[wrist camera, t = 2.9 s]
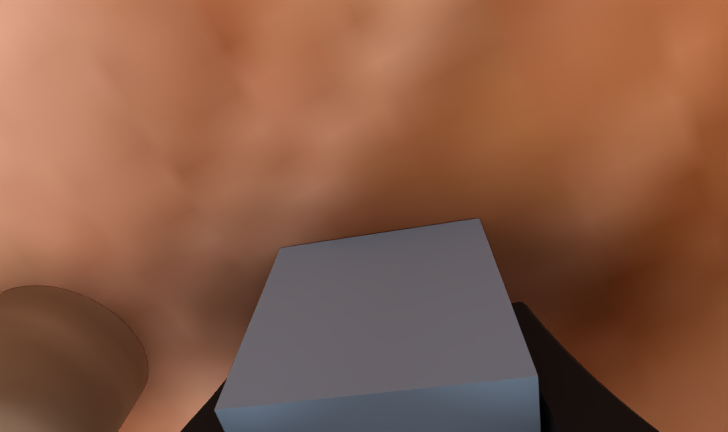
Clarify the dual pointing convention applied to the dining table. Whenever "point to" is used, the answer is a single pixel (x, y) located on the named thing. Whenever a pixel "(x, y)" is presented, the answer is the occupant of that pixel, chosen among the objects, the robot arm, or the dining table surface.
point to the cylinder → (65, 363)
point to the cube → (384, 340)
